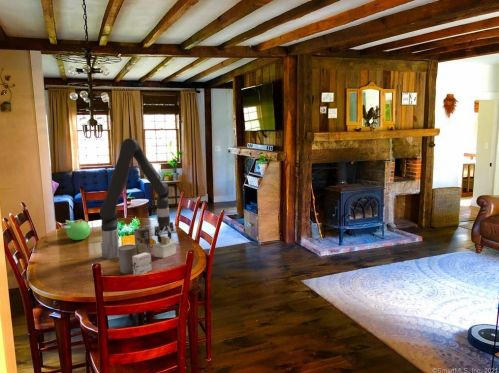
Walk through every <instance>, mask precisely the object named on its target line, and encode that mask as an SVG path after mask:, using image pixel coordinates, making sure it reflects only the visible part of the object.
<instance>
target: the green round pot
mask: <svg viewBox="0 0 499 373" xmlns="http://www.w3.org/2000/svg"><path fill="white" fill-rule="evenodd" d="M65 223H66V224H67V225H64V226H63V229H64V230H65V232H66V235H67V236H68V238H70V239H71V240H74V241H81V240H84V239H86V238H87V237H88V236H89V235H90V233H91V227H90V224H89V223H88V222H87V221H85V220H83V219H82V218H81V219H77V220H73V221H71V220H67V219H65Z"/></svg>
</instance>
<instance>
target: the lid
mask: <svg viewBox="0 0 499 373" xmlns="http://www.w3.org/2000/svg"><path fill="white" fill-rule="evenodd" d="M161 240H162V242H161V243H159V242H157V243H154V244H152V247H153V248H154V247H156V248H162V249H164V248H167V247H170V246H172V245H175V244H176V245H177V244H178V242H177V241H175V240H174V241H173V240H171V239H170V237H168V236H165V235H161Z"/></svg>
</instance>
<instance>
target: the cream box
mask: <svg viewBox="0 0 499 373" xmlns="http://www.w3.org/2000/svg"><path fill="white" fill-rule="evenodd" d="M176 253H177V244H175V245H172V246H170V247H167V248H164V249H162V248H156V247H153V255H154V256H153V257H157V258H161V259H165V258H167V257H169V256H173V255H175V254H176Z"/></svg>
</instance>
